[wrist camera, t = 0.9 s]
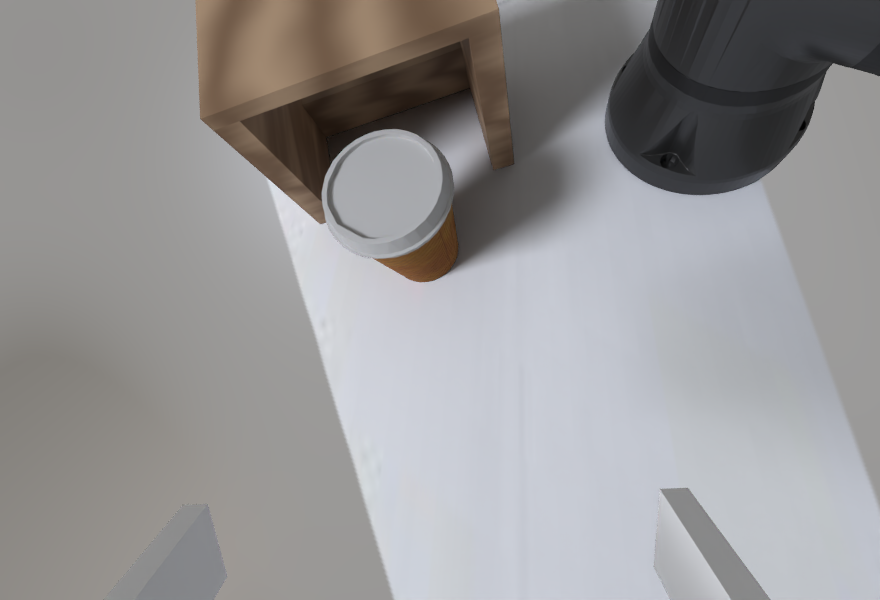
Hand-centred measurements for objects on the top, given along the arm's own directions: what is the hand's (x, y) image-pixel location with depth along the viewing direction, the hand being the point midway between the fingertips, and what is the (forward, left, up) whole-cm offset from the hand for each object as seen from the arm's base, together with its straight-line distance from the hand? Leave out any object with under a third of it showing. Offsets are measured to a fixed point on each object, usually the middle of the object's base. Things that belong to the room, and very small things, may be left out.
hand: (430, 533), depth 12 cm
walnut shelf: (+2, -31, -23) cm, 38 cm away
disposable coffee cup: (+2, -19, -23) cm, 30 cm away
